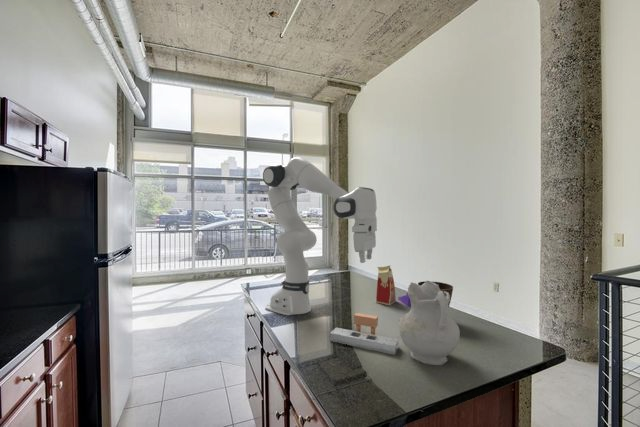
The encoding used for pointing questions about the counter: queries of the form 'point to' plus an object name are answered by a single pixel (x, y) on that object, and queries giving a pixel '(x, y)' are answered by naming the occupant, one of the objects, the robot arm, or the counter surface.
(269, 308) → the robot arm
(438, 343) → the ceramic pitcher
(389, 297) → the red paper bag
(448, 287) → the plant pot
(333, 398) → the counter surface
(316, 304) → the counter surface
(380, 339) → the rail
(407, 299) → the purple cone
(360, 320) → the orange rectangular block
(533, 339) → the counter surface
